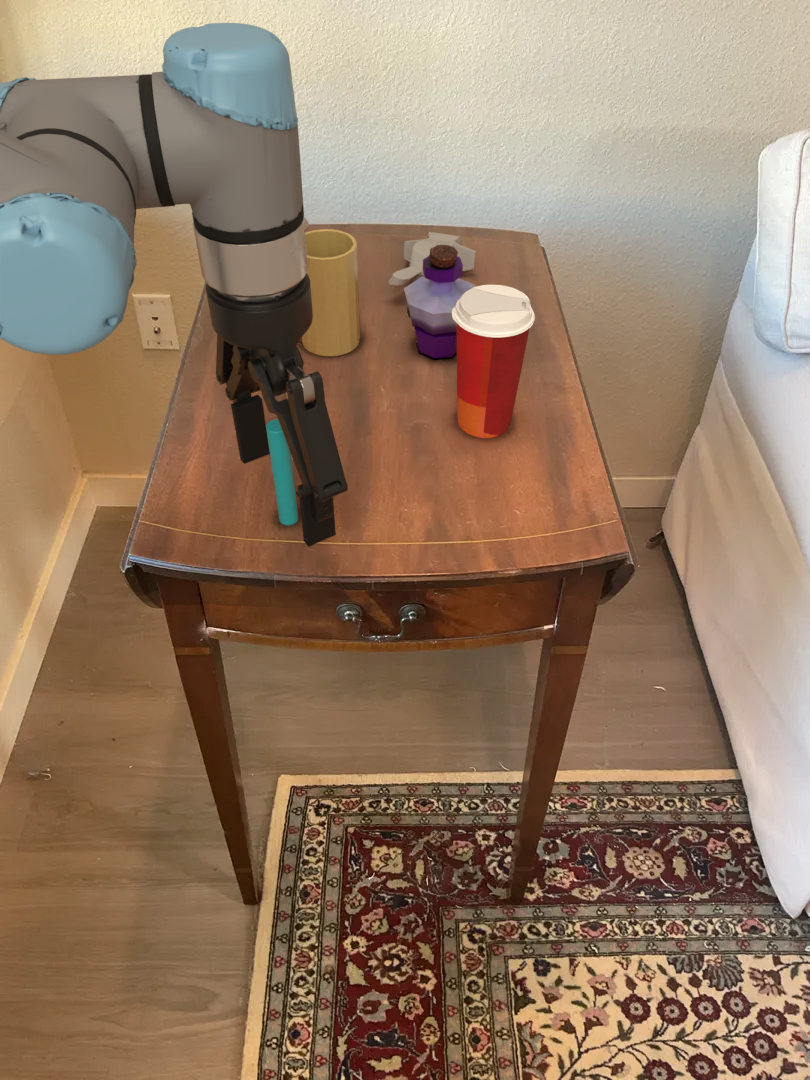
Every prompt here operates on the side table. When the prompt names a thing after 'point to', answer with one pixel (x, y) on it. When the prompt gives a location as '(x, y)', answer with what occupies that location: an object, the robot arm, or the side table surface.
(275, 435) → the teal cylinder rod
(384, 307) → the side table surface
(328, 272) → the can
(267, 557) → the side table surface
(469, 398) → the paper cup
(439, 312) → the potion bottle
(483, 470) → the side table surface
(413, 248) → the bunny figurine
